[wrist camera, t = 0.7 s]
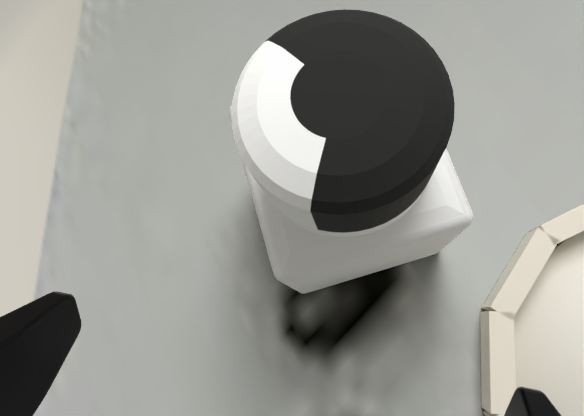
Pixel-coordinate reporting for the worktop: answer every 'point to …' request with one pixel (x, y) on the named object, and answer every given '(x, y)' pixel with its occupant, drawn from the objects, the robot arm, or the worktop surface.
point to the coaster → (538, 320)
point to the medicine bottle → (348, 148)
